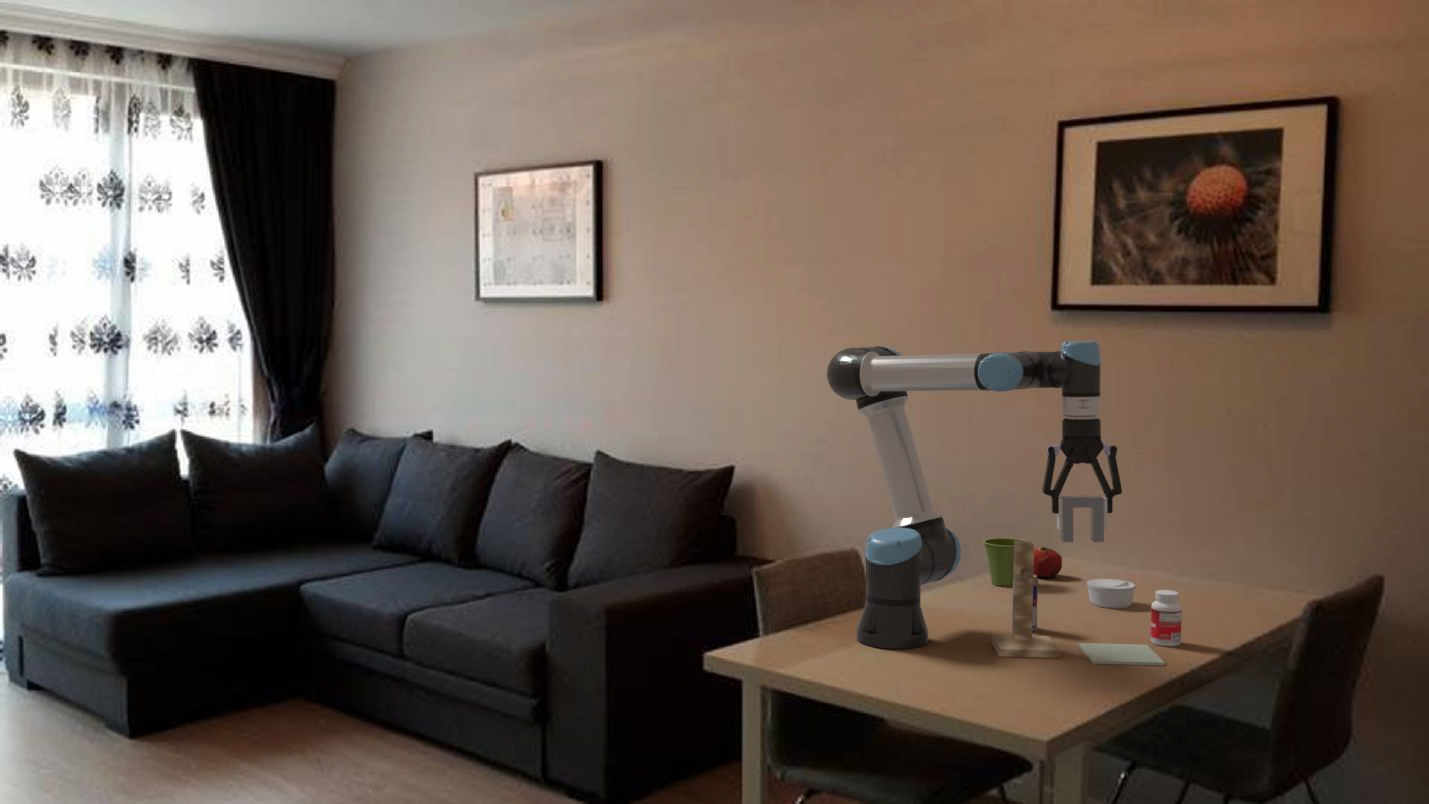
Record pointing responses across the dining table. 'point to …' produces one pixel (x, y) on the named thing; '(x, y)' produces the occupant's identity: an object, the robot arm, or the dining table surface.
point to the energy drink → (1034, 612)
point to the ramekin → (1110, 593)
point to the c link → (1095, 516)
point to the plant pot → (1001, 560)
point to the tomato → (1046, 562)
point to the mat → (1121, 654)
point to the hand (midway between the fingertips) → (1082, 529)
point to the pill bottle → (1166, 619)
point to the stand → (1023, 612)
